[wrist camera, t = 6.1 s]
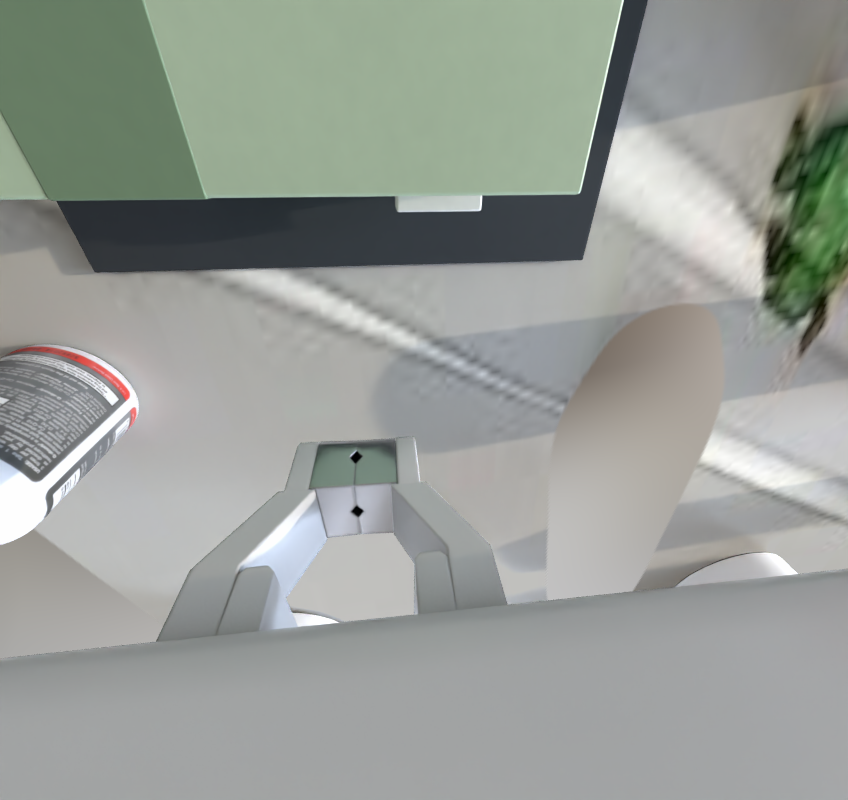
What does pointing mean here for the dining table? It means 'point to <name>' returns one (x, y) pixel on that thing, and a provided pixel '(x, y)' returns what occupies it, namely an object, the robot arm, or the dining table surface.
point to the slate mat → (355, 217)
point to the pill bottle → (54, 427)
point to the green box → (300, 98)
